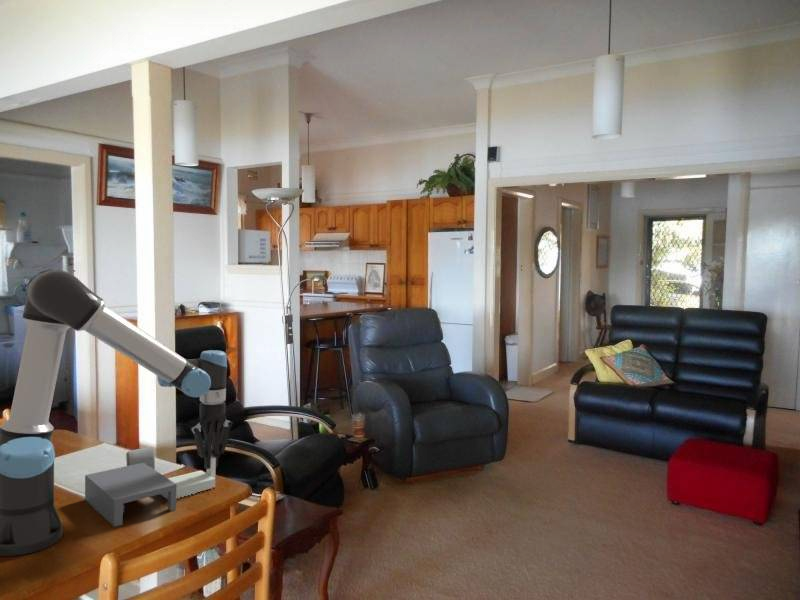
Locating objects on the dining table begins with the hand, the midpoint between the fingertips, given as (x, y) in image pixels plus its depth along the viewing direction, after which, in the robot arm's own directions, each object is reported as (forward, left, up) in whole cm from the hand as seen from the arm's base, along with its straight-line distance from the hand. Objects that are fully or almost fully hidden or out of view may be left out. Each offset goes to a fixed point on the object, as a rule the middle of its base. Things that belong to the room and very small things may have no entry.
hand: (210, 477), depth 177 cm
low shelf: (-24, 0, -2) cm, 24 cm away
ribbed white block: (-8, 0, -2) cm, 8 cm away
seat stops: (-28, 0, -2) cm, 28 cm away
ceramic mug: (-12, +21, -2) cm, 24 cm away
